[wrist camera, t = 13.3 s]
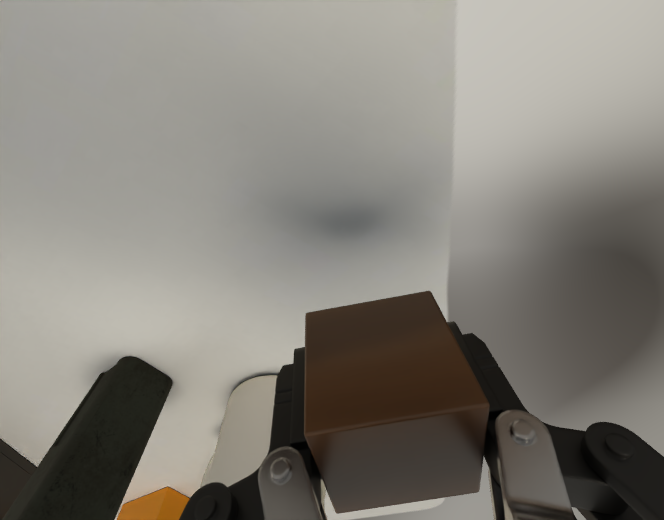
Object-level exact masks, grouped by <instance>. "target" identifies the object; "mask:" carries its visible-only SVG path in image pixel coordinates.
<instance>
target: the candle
mask: <svg viewBox="0 0 664 520" xmlns="http://www.w3.org/2000/svg"><path fill="white" fill-rule="evenodd" d="M171 387H172V380H171V379H170V378H169V377H168V376H166V375H164V374H163V373H161V372H160V371H158V370H156V369H155V368H153V367H151V366H150V365H148V364H147V363H145V362H143V361H142V360H140V359H138V358H134V357H125V358H122V359H120V360H119V362H118V363H117V365H116V366H114V367H113V368H111V369H110V370H109V371H107V372H106V373H101V374H100V375H99V377H98V378H97V380H96V381H95V383H94V384H93V386H92V387H91V389H90V390H89V392H88V393H87V395H86V396H85V398H84V399H83V401H82V402H81V404H80V405H79V407H78V408H77V409H76V411H75V412H74V414H73V415H72V417H71V418H70V420H69V421H68V423H67V424H66V426H65V427H64V429H63V430H62V432H61V433H60V435H59V436H58V438H57V439H56V441H55V442H54V443H53V445H52V446H51V448H50V449H49V451H48V452H47V454H46V455H45V457H44V458H43V460H42V461H41V463H40V464H39V466H38V467H37V469H36V470H35V472H34V473H33V475H32V476H31V477H30V479H29V480H28V482H27V483H26V485H25V486H24V488H23V489H22V491H21V492H20V494H19V495H18V497H17V498H16V500H15V501H14V503H13V504H12V506H11V507H10V509H9V510H8V511H7V513H6V514H5V516H4V517H3V519H2V520H114V519H115V517H116V514H117V512H118V510H119V507H120V505H121V503H122V500H123V498H124V496H125V493H126V491H127V489H128V486H129V484H130V482H131V480H132V477H133V475H134V473H135V470H136V468H137V466H138V463H139V461H140V459H141V456H142V454H143V452H144V449H145V447H146V445H147V443H148V440H149V438H150V436H151V433H152V431H153V429H154V426H155V424H156V422H157V419H158V417H159V415H160V412H161V410H162V408H163V406H164V403H165V401H166V399H167V396H168V394H169V392H170V389H171Z"/></svg>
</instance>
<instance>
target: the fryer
mask: <svg viewBox="0 0 664 520" xmlns="http://www.w3.org/2000/svg"><path fill="white" fill-rule="evenodd" d="M36 469H37V468H36V467H35V466H34V465H32V464H31V463H30V462H28V461H27V460H26V459H25V458H23V457H22V456H21V455H19V454H18V453H17V452H16V451H14V450H13V449H12V448H10V447H9V446H8V445H7V444H5V443H4V442H3V441H1V440H0V520H2V519H3V517H4V516H5V514H6V513H7V511H8V510H9V509H10V507H11V506H12V504H13V503H14V501H15V500H16V498H17V497H18V495H19V494H20V492H21V491H22V489H23V488H24V486H25V485H26V483H27V482H28V480H29V479H30V477H31V476H32V475H33V473H34V472H35V470H36Z"/></svg>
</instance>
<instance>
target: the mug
mask: <svg viewBox="0 0 664 520" xmlns="http://www.w3.org/2000/svg"><path fill="white" fill-rule="evenodd" d="M276 378H277V376H276V375H266V376H259V377H255V378H252V379H249V380H247V381H245V382H243V383H242V384H240V385H239V386H238V387H237V388H236V389H235V390H234V391H233V392H232V394H231V396H230V398H229V400H228V403H227V407H226V410H225V414H224V418H223V422H222V426H221V430H220V434H219V438H218V442H217V446H216V450H215V453H214V455H213V457H212V458H211V460H210V462H209V464H208V467H207V469H206V472H205V474H204V477H203V480H202V484H201V487H203V486H204V485H206V484H209V483H213V482H220V483H223V484H224V485H226V486H227V487H229V486H231V485H233V484H234V483H236V482H238V481H240V480H242V479H244V478H246V477H247V476H249V475H251V474H252V473H254V472H255V471H256V470H257V469H258V468H259V467H260V466H261V464H262V462H263V460H264V459H265V457H266V456H267V454H268V451H269V447H270V438H271V428H272V418H273V408H274V398H275V388H276Z"/></svg>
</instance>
